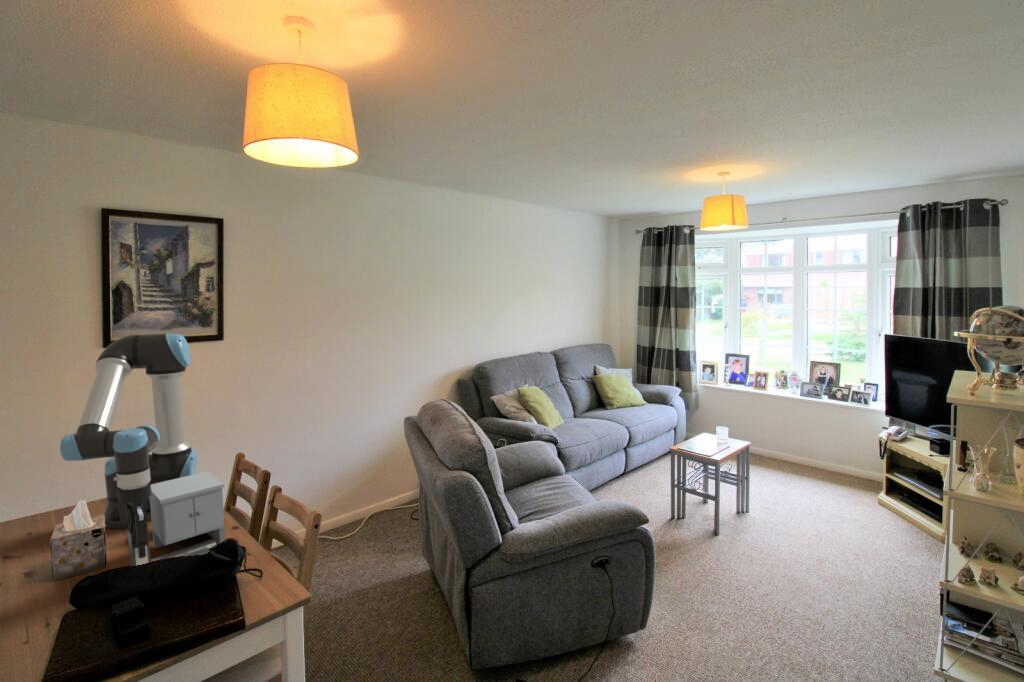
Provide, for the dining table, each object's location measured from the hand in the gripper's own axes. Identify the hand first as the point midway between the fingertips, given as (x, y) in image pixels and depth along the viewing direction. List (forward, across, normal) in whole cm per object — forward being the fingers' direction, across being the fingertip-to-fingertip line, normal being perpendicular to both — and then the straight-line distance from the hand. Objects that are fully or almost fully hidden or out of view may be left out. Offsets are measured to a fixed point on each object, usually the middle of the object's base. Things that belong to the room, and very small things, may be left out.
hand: (140, 563), depth 145 cm
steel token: (+3, +4, +14) cm, 15 cm away
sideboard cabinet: (+3, -8, +14) cm, 16 cm away
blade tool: (+2, 0, +9) cm, 9 cm away
